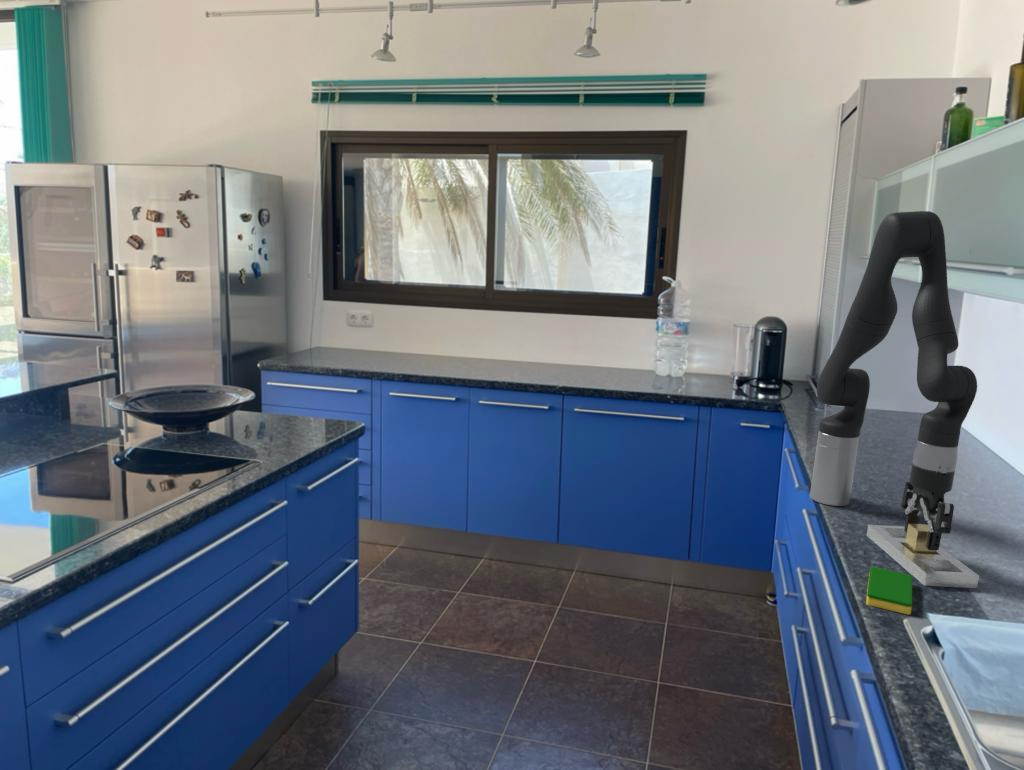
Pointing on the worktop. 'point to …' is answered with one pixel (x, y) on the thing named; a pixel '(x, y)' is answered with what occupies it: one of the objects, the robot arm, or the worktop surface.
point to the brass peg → (917, 539)
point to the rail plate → (923, 560)
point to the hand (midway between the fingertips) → (920, 541)
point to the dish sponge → (890, 590)
